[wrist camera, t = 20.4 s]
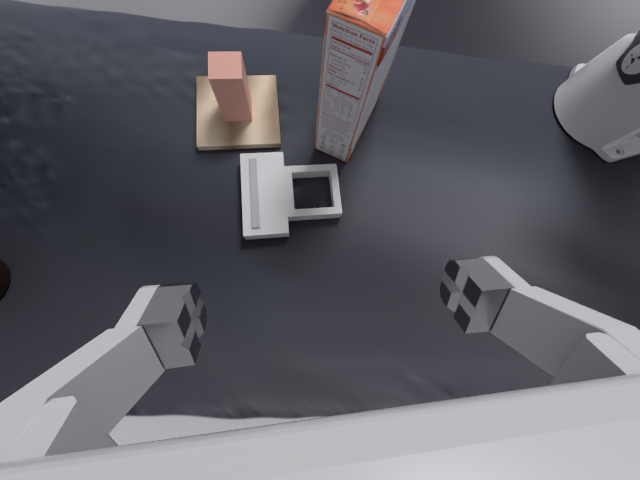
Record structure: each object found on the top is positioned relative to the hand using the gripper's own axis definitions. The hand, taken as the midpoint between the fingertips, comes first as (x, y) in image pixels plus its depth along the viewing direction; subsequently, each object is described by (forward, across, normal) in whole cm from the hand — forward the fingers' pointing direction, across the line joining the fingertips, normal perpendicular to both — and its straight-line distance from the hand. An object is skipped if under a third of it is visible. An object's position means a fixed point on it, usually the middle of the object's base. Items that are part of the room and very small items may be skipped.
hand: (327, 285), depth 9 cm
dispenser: (+31, -1, -10) cm, 32 cm away
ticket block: (+40, -8, +1) cm, 41 cm away
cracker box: (+40, +9, -2) cm, 41 cm away
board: (+41, -8, 0) cm, 42 cm away
